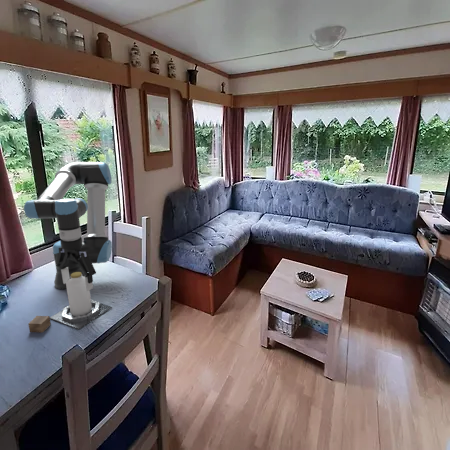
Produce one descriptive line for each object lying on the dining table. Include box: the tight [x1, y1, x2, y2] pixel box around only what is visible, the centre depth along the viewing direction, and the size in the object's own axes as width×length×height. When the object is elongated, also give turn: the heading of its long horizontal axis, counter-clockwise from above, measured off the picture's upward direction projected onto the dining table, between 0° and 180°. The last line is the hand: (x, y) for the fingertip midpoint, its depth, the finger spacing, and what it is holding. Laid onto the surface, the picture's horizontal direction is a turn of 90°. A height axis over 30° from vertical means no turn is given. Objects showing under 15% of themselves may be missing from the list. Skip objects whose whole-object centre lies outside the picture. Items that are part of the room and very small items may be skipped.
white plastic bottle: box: [66, 272, 92, 316], centre depth 116 cm, size 8×8×18 cm
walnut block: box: [27, 315, 51, 333], centre depth 108 cm, size 5×5×4 cm
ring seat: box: [49, 299, 113, 331], centre depth 118 cm, size 17×17×2 cm
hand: (78, 285), depth 115 cm, fingers open, 13 cm apart
